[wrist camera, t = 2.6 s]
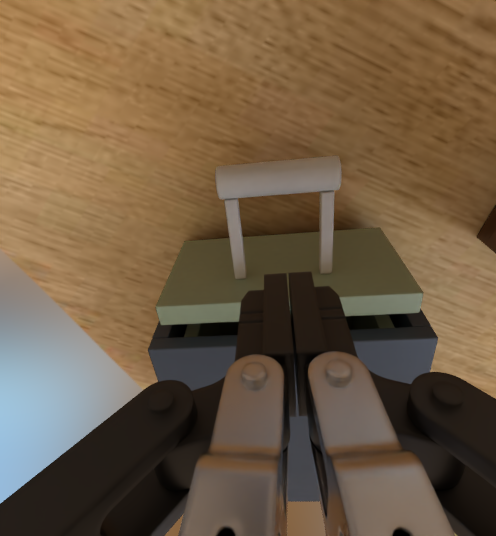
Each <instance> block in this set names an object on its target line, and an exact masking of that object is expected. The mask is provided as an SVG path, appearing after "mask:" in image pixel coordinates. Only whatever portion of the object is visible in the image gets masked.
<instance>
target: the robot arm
mask: <svg viewBox="0 0 496 536" xmlns="http://www.w3.org/2000/svg"><path fill="white" fill-rule="evenodd" d="M288 277H289V295H288V284H287V273H277V274H264V290H250V291H248V292H247V293H246V295H245V296H244V298H243V299H242V300H241V307H240V316H239V326H238V335H237V344H236V354H235V361H234V363H233V364H232V365H231V366H230V367H229V369H228V371H227V373H226V376H225V377H224V378H222V379H221V380H219V381H218V382H216V383H214V384H211V385H208V386H205V387H202V388H199V389H196V390H192V391H191V389H190V388H189V386H187V385H186V384H185V383H183V382H181V381H178V380H164V381H160V382H157V383H154V384H152V385H150V386H149V387H147V388H146V389H144V390H143V391H142V392H141V393H140V394H138V395H137V396H136V397H134V398H133V399H132V400H131V401H129V402H128V403H127V404H125V405H124V406H123V407H122V408H120V409H119V410H118V411H117V412H116V413H114V414H113V415H112V416H110V417H109V418H108V419H107V420H105V421H104V422H103V423H102V424H100V425H99V426H98V427H96V428H95V429H94V430H93V431H92V432H90V433H89V434H88V435H86V436H85V437H84V438H83V439H81V440H80V441H79V442H78V443H76V444H75V445H74V446H73V447H71V448H70V449H69V450H68V451H66V452H65V453H64V454H62V455H61V456H60V457H59V458H57V459H56V460H55V461H54V462H52V463H51V464H50V465H49V466H47V467H46V468H45V469H43V470H42V471H41V472H40V473H38V474H37V475H36V476H35V477H33V478H32V479H31V480H30V481H29V482H27V483H26V484H25V485H24V486H22V487H21V488H20V489H18V490H17V491H16V492H15V493H13V494H12V495H11V496H10V497H8V498H7V499H6V500H4V501H3V502H2V503H1V504H0V536H165V534H166V533H167V532H168V531H169V529H170V528H171V527H172V526H173V525H174V524H175V523H176V521H177V520H178V519H179V518H180V517H181V516H182V515H183V514H184V515H183V519H182V523H181V527H180V531H179V535H178V536H287V504H288V460H289V441H290V433H291V432H290V417H297V413H296V391H295V376H296V387H297V398H298V409H299V416H307V418H308V427H309V446H310V452H311V457H312V462H313V468H314V473H315V478H316V483H317V489H318V494H319V499H320V504H321V510H322V515H323V521H324V527H325V533H326V536H455V534H456V535H457V536H496V399H495V398H493V397H491V396H490V395H488V394H486V393H485V392H483V391H481V390H479V389H478V388H476V387H474V386H473V385H471V384H469V383H468V382H466V381H464V380H462V379H460V378H458V377H456V376H453V375H450V374H447V373H441V372H428V373H424V374H421V375H419V376H418V377H416V378H415V379H414V380H413V382H412V383H411V384H408V383H404V382H399V381H395V380H390V379H387V378H384V377H381V376H378V375H377V374H375V373H373V372H371V371H370V370H368V368H367V366H366V365H365V364H364V363H363V362H362V361H361V360H360V359H359V358H358V356H357V353H356V350H355V347H354V343H353V340H352V337H351V333H350V330H349V327H348V324H347V320H346V319H345V314H344V310H343V308H342V304H341V300H340V297H339V295H338V294H337V293H336V292H335V291H334V290H333V289H332V288H331V287H330V286H319V287H314V282H313V277H312V272H311V271H309V272H292V273H288ZM289 298H290V306H289ZM294 364H295V368H294ZM454 533H455V534H454Z"/></svg>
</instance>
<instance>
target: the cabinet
mask: <svg viewBox="0 0 496 536" xmlns="http://www.w3.org/2000/svg"><path fill="white" fill-rule="evenodd" d="M389 317H390V319H391V321H392V323H393V325H394V327H395V328H379V329H356V330H350V333H351V337H352V340H353V343H354V347H355V350H356V353H357V356H358V358H359V359H360V360H361V361H362V362H363V363H364V364H365V365H366V366H367V368H368V370H370V371H371V372H373V373H375V374H377V375H378V376H381V377H384V378H387V379H390V380H395V381H399V382H404V383H408V384H411V383H412V382H413V380H414V379H415V378H416V377H418V376H419V375H421V374H424V373H428V372H430V369H431V365H432V361H433V357H434V353H435V348H436V344H437V340H438V337H437V335H436V334H435V332H434V330H433V329H432V327H430V326H431V325H430V323H429V322H428V320H427V318H426V317H425V315H424V313H423V312H422V310H421V309H420V312H419V313H406V314H389ZM187 325H188V324H177V325H161V324H160V321H159V323H158V325H157V328H156V330H155V332H154V335H153V339H152V341H151V343H150V346H149V348H148V352H149V355H150V358H151V361H152V364H153V367H154V370H155V373H156V376H157V379H158V382H160V381H164V380H178V381H181V382H183V383H185V384H186V385H187V386H189V388H190V389H191V391H192V390H196V389H199V388H202V387H205V386H208V385H211V384H214V383H216V382H218V381H219V380H221V379H222V378H224V377H225V376H226V373H227V371H228V369H229V367H230V366H231V365H232V364H233V363H234V361H235V354H236V344H237V335H221V336H199V337H184V335H185V332H186V328H187ZM294 368H295V364H294ZM295 391H296V413H297V417H290V432H291V433H290V441H289V460H288V501H320V499H319V494H318V489H317V483H316V478H315V473H314V468H313V462H312V457H311V452H310V446H309V427H308V418H307V416H299V409H298V398H297V387H296V376H295Z"/></svg>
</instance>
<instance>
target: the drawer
mask: <svg viewBox="0 0 496 536" xmlns="http://www.w3.org/2000/svg"><path fill="white" fill-rule="evenodd" d="M215 181H216V189H217V194H218V197H219V199H225V200H224V203H225V210H226V218H227V225H228V232H229V238H222V239H208V240H194V241H184V243H183V246H182V248H181V250H180V252H179V255H178V257H177V259H176V262H175V264H174V266H173V268H172V271H171V273H170V275H169V277H168V280H167V282H166V284H165V286H164V289H163V291H162V293H161V295H160V298H159V300H158V302H157V305H156V311H157V314H158V317H159V321H160V324H161V325H177V324H188V325H187V328H186V332H185V335H184V337H199V336H221V335H238V326H239V316H240V307H241V300H242V299H243V298H244V296H245V295H246V293H247V292H248V291H250V290H264V274H277V273H287V284H288V295H289V277H288V273H292V272H309V271H311V272H312V277H313V282H314V287H319V286H330V287H331V288H332V289H333V290H334V291H335V292H336V293H337V294H338V295H339V297H340V300H341V304H342V308H343V310H344V314H345V319H346V320H347V324H348V327H349V330H356V329H379V328H395V327H394V325H393V323H392V321H391V319H390V317H389V314H406V313H419V312H420V308H421V302H422V297H423V291H422V290H421V288H420V287H419V285H418V284H417V282H416V281H415V279H414V278H413V276H412V275H411V273H410V272H409V270H408V269H407V267H406V266H405V264H404V263H403V261H402V260H401V258H400V257H399V255H398V254H397V252H396V251H395V249H394V248H393V246H392V245H391V243H390V242H389V240H388V239H387V237H386V236H385V234H384V233H383V231H382V230H381V228H365V229H351V230H337V231H333V223H334V191H333V190H338V189H339V188H340V185H341V162H340V158H339V156H337V155H336V156H325V157H313V158H302V159H291V160H280V161H268V162H257V163H246V164H235V165H223V166H217V167H216V170H215ZM307 192H320V196H319V232H308V233H294V234H280V235H265V236H251V237H243V236H242V228H241V220H240V211H239V203H238V198H245V197H257V196H270V195H282V194H295V193H307ZM289 306H290V298H289Z"/></svg>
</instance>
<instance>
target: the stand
mask: <svg viewBox="0 0 496 536" xmlns="http://www.w3.org/2000/svg"><path fill="white" fill-rule="evenodd" d="M477 238H478V239H480V240H481V241H482V242H483V243H484V244H485V245H487V246H488V247H489V248H490V249H491V250H492V251H493V252H495V253H496V206H495V208H494V210H493V211H492V213H491V215H490V216H489V218H488V219H487V221H486V223H485V224H484V226H483V228H482V229H481V231H480V233H479V234H478V236H477Z"/></svg>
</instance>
